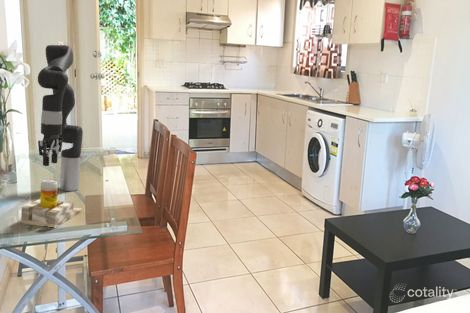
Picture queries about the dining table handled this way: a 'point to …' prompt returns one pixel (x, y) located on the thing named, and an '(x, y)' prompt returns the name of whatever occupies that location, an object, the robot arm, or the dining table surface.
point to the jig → (48, 214)
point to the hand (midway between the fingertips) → (50, 164)
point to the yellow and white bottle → (48, 194)
